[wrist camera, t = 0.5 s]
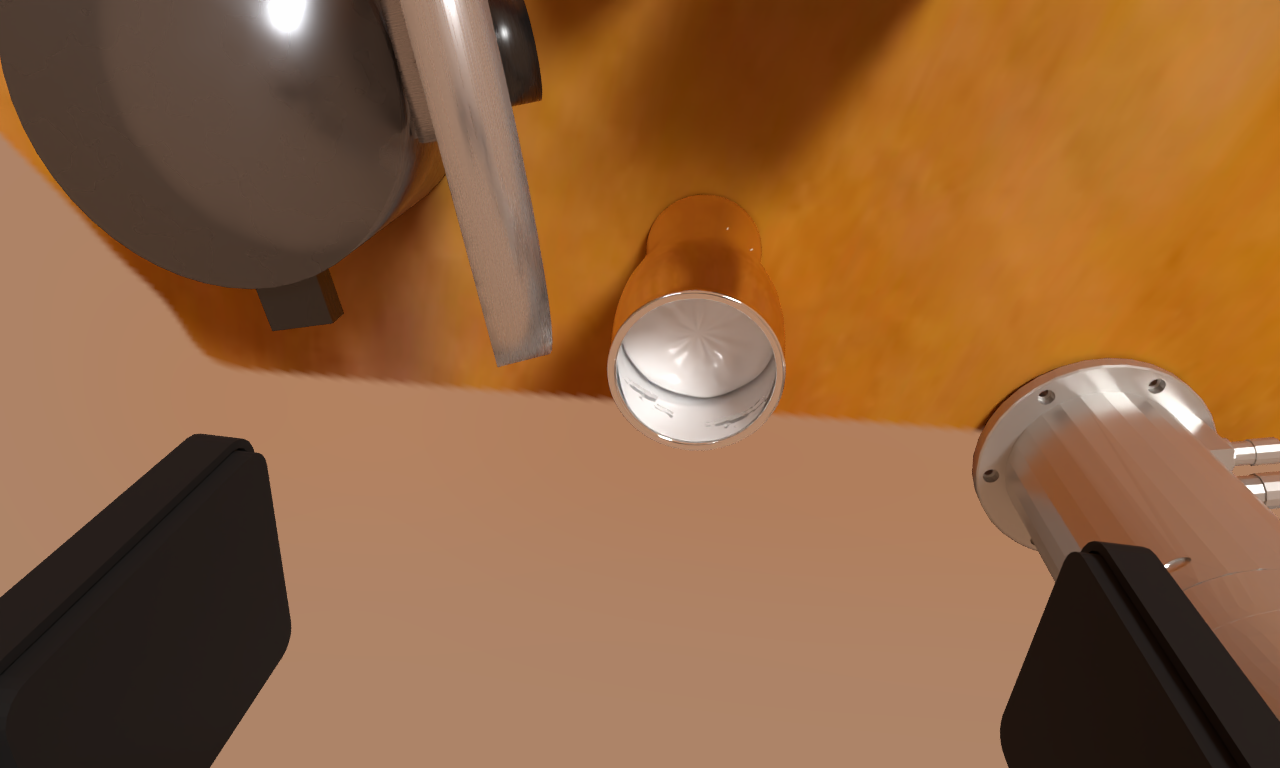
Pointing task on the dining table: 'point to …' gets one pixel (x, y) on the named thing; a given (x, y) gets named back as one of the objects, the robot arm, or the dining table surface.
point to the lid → (481, 148)
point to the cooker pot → (223, 133)
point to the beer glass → (698, 330)
